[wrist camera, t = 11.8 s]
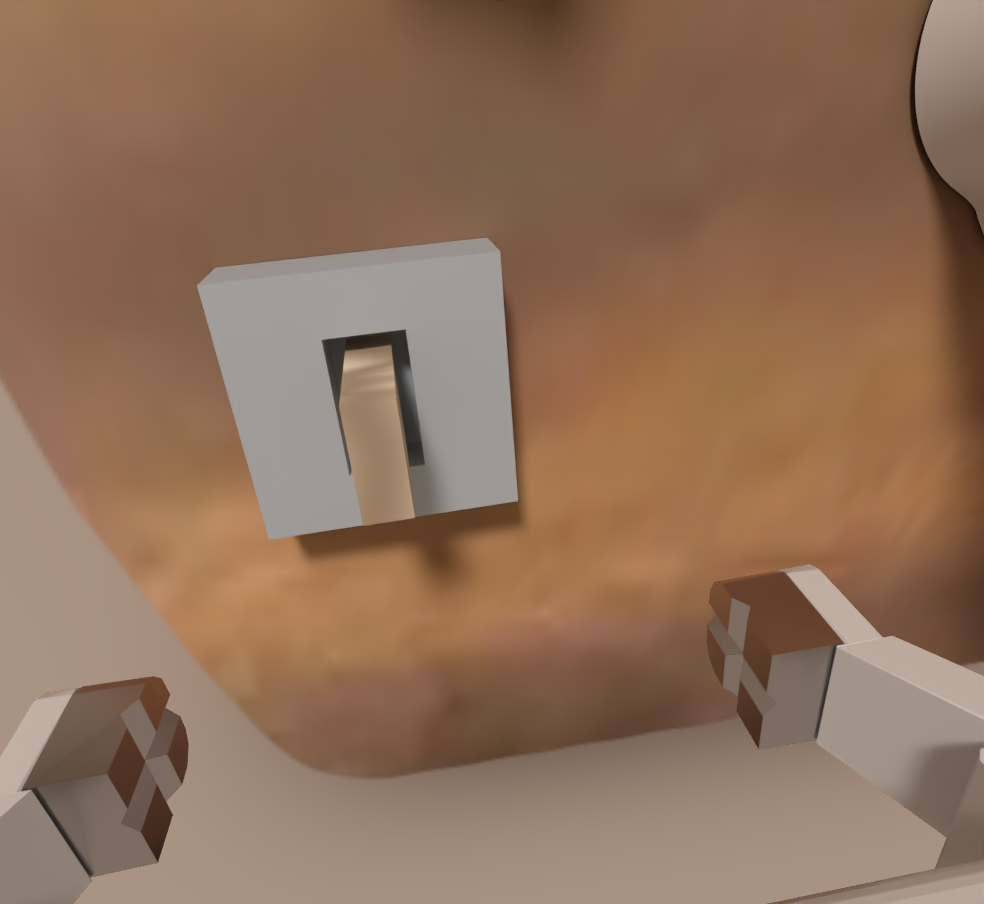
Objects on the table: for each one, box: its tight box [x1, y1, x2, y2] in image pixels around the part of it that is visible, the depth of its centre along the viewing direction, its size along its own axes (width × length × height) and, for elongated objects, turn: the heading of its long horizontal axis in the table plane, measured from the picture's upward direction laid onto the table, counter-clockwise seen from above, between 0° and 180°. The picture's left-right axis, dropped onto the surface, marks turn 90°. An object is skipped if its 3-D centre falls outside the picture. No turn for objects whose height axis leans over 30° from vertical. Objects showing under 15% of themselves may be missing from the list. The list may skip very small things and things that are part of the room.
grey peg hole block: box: [197, 238, 518, 540], centre depth 31 cm, size 12×12×4 cm
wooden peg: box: [339, 334, 415, 526], centre depth 28 cm, size 2×5×8 cm, turn 5°
